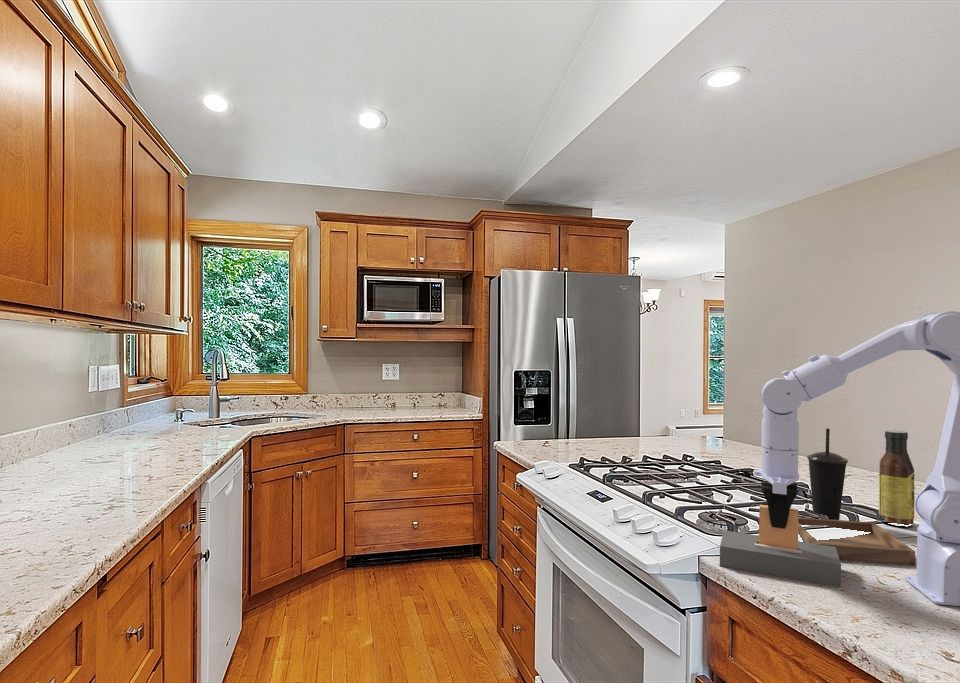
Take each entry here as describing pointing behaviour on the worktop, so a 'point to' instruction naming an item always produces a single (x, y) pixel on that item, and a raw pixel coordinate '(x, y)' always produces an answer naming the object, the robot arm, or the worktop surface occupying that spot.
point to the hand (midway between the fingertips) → (778, 525)
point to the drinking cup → (827, 481)
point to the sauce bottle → (896, 480)
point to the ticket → (778, 530)
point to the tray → (861, 542)
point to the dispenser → (781, 559)
